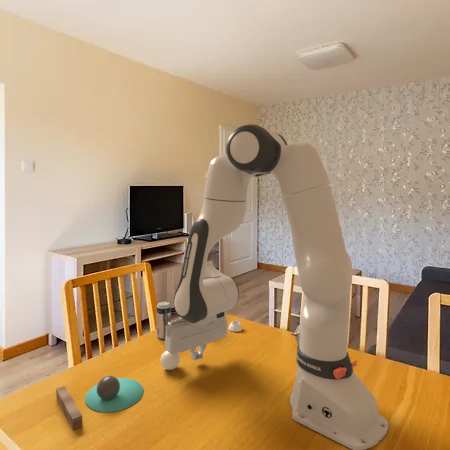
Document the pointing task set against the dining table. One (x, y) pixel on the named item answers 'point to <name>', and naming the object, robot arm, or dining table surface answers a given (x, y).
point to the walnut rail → (69, 407)
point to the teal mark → (124, 399)
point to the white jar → (235, 326)
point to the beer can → (163, 318)
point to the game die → (297, 333)
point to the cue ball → (169, 360)
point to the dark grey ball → (108, 387)
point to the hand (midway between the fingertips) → (197, 358)
